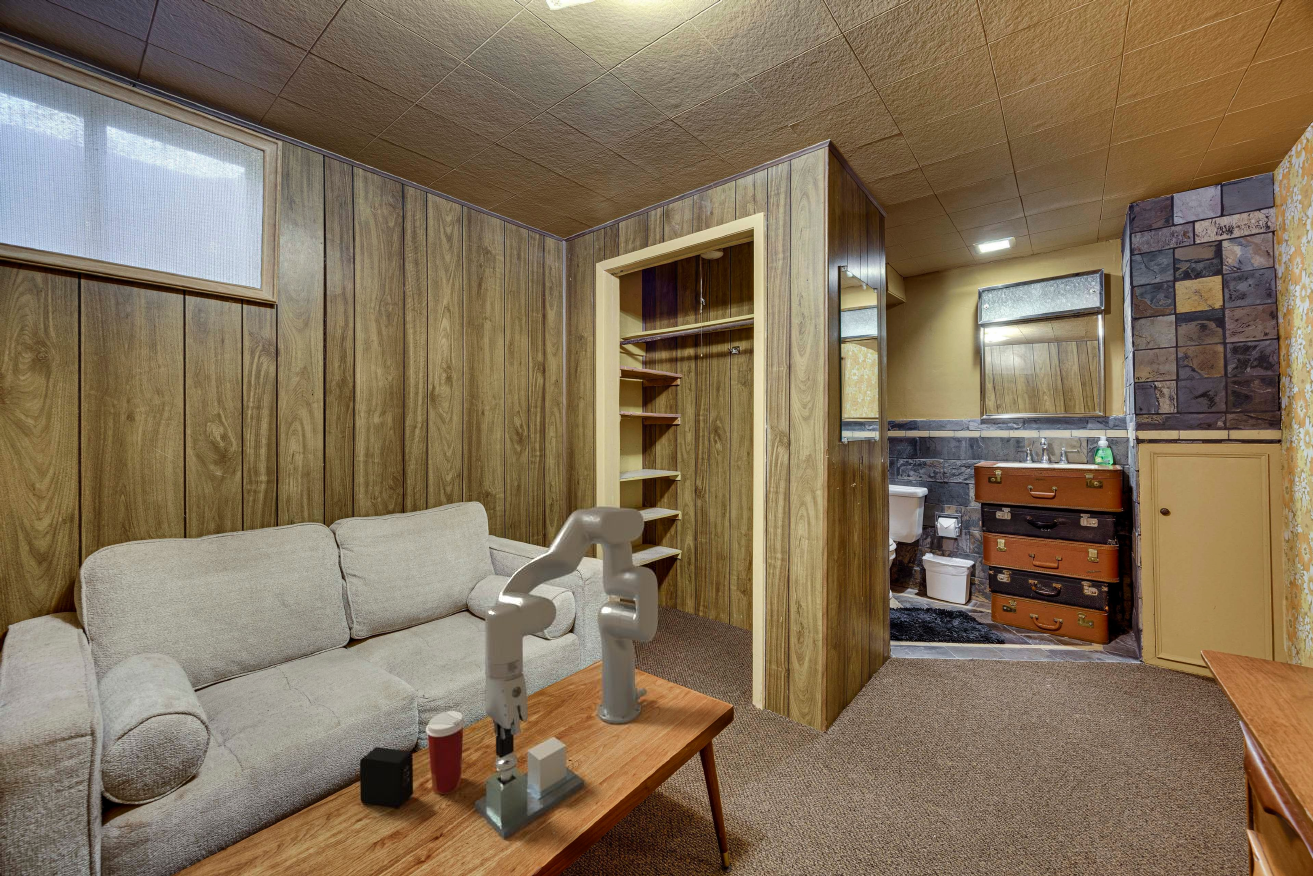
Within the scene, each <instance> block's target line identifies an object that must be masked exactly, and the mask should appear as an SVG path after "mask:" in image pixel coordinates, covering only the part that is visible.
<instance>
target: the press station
mask: <svg viewBox="0 0 1313 876" xmlns="http://www.w3.org/2000/svg"><path fill="white" fill-rule="evenodd" d="M584 787H585V779H584V778H582V777H581V776H579V775H578V774H577V773H575V772H574V771H572V770H571V769H570V768H569V767H567V766H566V776H565V777H564V778H562V779H560V780H559V781H557V782H556V783H554V784H552V785H551V786H549V787H547V788H546V789H544V790H543V791H541V792H540V791H539V790H538V789H536V788H535V787H534V786H533V785H532V784H531V783H529V782H528V771H526V772H525V773H522V772H520V770H518V769H517V768H516V766H515V767H514V768H513V769H512V781H511V782H509V783H507V784H506V785H504V786H503V785H502V784H501V771H498V772H496V773H495V774H493V775H491V776H490V777H487V778H486V779H485V790H486V791H485V792H486V793H485V794H486V795H485V796H483V797H480V798H479V799H477V800H476V801H475V802H474V804H475V807H474V808H475V810H476V811H477V812H478V813H479V814H480V815H481V816H482V818H483V819H484V820H485V821H486V822H487V823H488V825H490V826H491V827H492V828H493V830H495V832H496V833H498V835H499V836H500V837H501V838H502V839H503V840H505V839H507V838H508V837H510V836H512V835H514V833H516V832H518V831H519V830H521V829H522V828H524V827H525V826H527V825H528V824H530V823H532V822H533V821H535V820H536V819H537V818H539V817H540V816H543V815H544V814H545V813H547V812H548V811H550V810H551V809H553V808H554V807H556V806H557V805H559V804H561V803H562V802H564V801H565V800H566V799H568V798H570V797H571V796H573V795H574V794H576V793H577V792H579V791H580V790H581V789H583V788H584Z"/></svg>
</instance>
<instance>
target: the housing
mask: <svg viewBox="0 0 1313 876" xmlns="http://www.w3.org/2000/svg"><path fill="white" fill-rule="evenodd" d="M526 752H527V753H526V754H527V758H526V759H527V772H528V782H529V783H531V784H532V785H533V786H534V787H535V788H536V789H538V790H539V791H540V792H541V791H543V790H544V789H546V788H547V787H549V786H551V785H552V784H554V783H556V782H557V781H559V780H560V779H562V778H564V777H565V776H566V767H567V745H566V744H565V743H563V742H562V741H561V740H559V739H557V738H556V737H555V736H552V737H549V738H548V739H546V740H544V741H542V742H541V743H539V744H537V745H535V746H533V747H531V748H530V749H527V750H526Z"/></svg>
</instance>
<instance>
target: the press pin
mask: <svg viewBox="0 0 1313 876" xmlns="http://www.w3.org/2000/svg"><path fill="white" fill-rule="evenodd" d="M517 764H518V756H517V754H516V753H514V752H512V753H510V754H508V755H506V756H504V757H502V758H500V757H499V756H497V757H496V759H495V760H494V766H495V770H496V771H498V772H500V771H501V784H502V785H503V786H504V785H506V784H507V783H509V782H511V781H512V769H513V768H514V767H515V768H516V766H517Z"/></svg>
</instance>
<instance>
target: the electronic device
mask: <svg viewBox="0 0 1313 876" xmlns="http://www.w3.org/2000/svg"><path fill="white" fill-rule="evenodd" d="M413 757H414V756H413V753H412V752H411V751H409V750H403V749H394V748H386V747H381V746H379V747H378V746H377V747H375V748H373V749H370V750H369V751H368V753H367V754H364V755H363V757H362V758H360V761H359V783H360V785H359V786H360V788H359V789H360V797H359V798H360V802H361V803H362V804H363V803H366V804H365V805H368V804H370V805H369V806H374V805H375V807H382V808H388V809H395V810H399V809H400V808H401V807H403V805H404V804H405V803H406V802H407V801H408V800H409V799H410V797H412V796H413V795H414V773H413V772H414V763H413V759H414V758H413Z"/></svg>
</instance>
